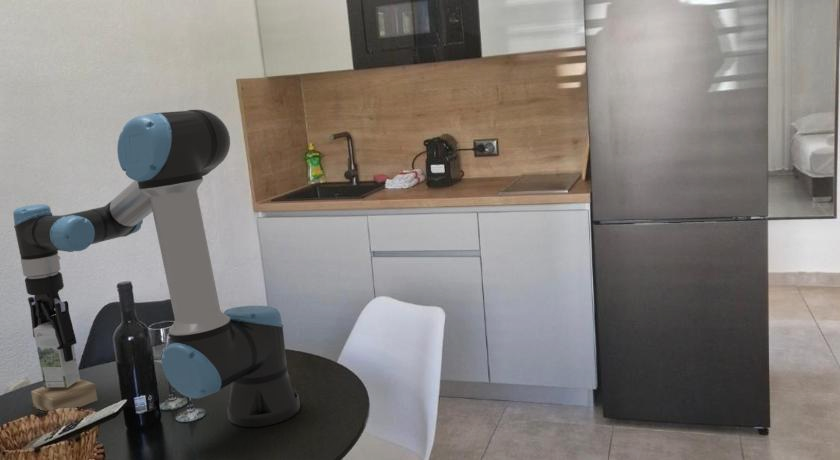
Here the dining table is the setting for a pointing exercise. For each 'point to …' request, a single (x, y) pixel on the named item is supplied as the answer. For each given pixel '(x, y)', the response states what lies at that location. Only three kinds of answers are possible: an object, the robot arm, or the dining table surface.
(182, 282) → the robot arm
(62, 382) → the syrup box
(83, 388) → the oak riser block
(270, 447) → the dining table surface
